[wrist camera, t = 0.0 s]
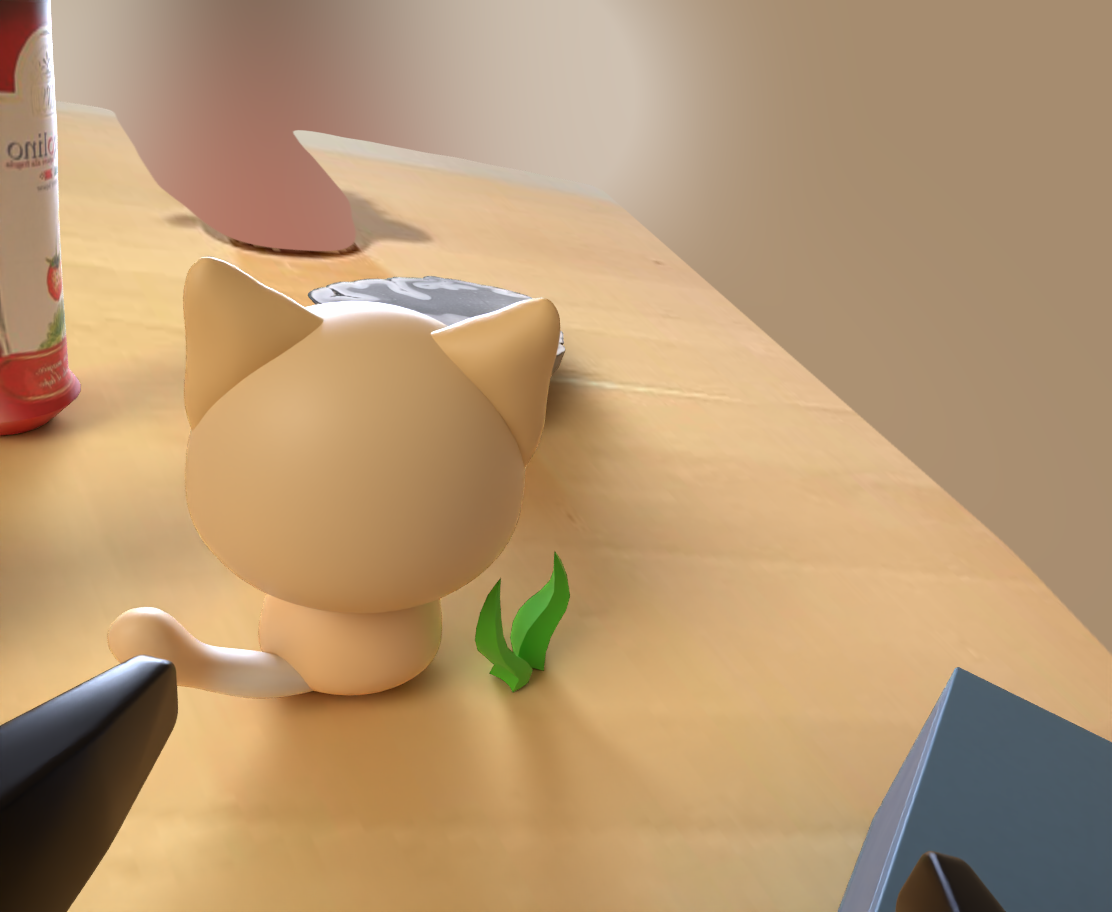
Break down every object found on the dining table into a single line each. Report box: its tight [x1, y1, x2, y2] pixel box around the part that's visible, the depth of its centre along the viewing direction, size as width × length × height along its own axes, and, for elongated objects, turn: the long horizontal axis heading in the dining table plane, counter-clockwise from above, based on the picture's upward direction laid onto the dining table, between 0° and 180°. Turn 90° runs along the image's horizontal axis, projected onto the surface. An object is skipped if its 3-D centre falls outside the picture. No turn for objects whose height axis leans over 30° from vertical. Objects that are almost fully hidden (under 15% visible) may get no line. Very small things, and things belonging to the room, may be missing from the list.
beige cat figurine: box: [107, 257, 570, 699], centre depth 28 cm, size 15×10×15 cm, turn 99°
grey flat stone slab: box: [308, 276, 565, 374], centre depth 55 cm, size 20×17×3 cm
